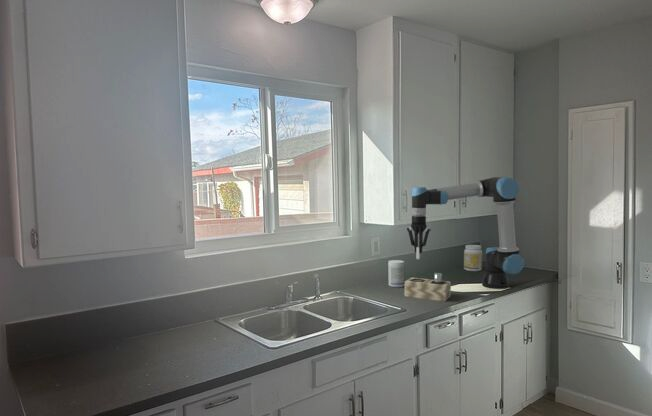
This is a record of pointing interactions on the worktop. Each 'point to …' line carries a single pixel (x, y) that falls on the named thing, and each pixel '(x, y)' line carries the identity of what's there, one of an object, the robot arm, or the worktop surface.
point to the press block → (427, 289)
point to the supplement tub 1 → (396, 273)
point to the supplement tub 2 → (473, 258)
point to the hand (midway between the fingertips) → (418, 258)
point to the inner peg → (438, 278)
